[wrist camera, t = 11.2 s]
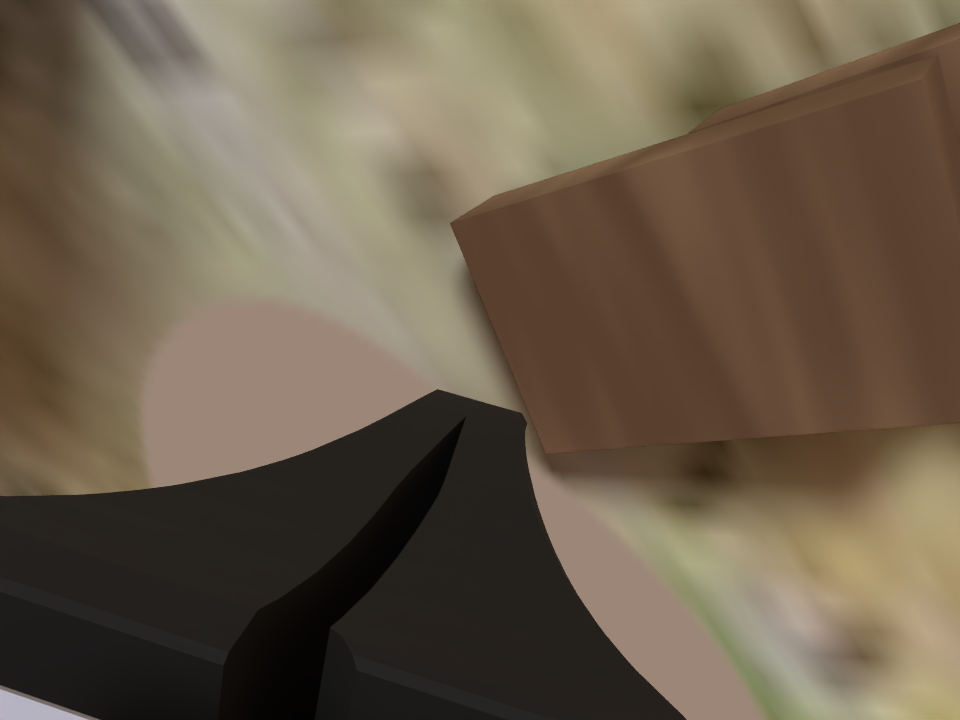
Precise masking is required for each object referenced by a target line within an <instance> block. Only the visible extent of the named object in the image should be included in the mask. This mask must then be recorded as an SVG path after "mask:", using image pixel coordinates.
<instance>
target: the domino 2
mask: <svg viewBox="0 0 960 720" xmlns="http://www.w3.org/2000/svg"><path fill="white" fill-rule="evenodd" d="M450 225H451V227H452V229H453V232H454V234H455V237H456V239H457V241H458V244H459V246H460V249H461V251H462V253H463V256H464V258H465V261H466V263H467V265H468V268H469V270H470V273H471V275H472V277H473V280H474V282H475V284H476V287H477V289H478V292H479V294H480V296H481V299H482V301H483V304H484V306H485V308H486V311H487V313H488V316H489V318H490V320H491V323H492V325H493V328H494V330H495V332H496V335H497V337H498V340H499V342H500V344H501V347H502V349H503V352H504V354H505V356H506V359H507V361H508V364H509V366H510V368H511V371H512V373H513V376H514V378H515V380H516V383H517V385H518V388H519V390H520V392H521V395H522V397H523V400H524V402H525V404H526V407H527V409H528V412H529V414H530V416H531V419H532V421H533V424H534V426H535V428H536V431H537V433H538V436H539V438H540V440H541V443H542V445H543V448H544V450H545V452H546V454H550V453H564V452H577V451H590V450H604V449H617V448H630V447H644V446H657V445H670V444H684V443H697V442H710V441H724V440H737V439H750V438H764V437H777V436H790V435H804V434H817V433H830V432H844V431H857V430H870V429H884V428H897V427H910V426H924V425H937V424H950V423H960V146H959V142H958V138H957V134H956V129H955V125H954V121H953V116H952V112H951V108H950V103H949V99H948V95H947V91H946V86H945V82H944V78H943V73H942V69H941V65H940V60H939V56H938V55H935V56H932V57H929V58H926V59H923V60H919V61H916V62H913V63H910V64H907V65H904V66H901V67H897V68H894V69H891V70H888V71H885V72H882V73H878V74H875V75H872V76H869V77H866V78H863V79H860V80H856V81H853V82H850V83H847V84H844V85H841V86H838V87H834V88H831V89H828V90H825V91H822V92H819V93H816V94H812V95H809V96H806V97H803V98H800V99H797V100H794V101H790V102H787V103H784V104H781V105H778V106H775V107H772V108H768V109H765V110H762V111H759V112H756V113H753V114H750V115H747V116H743V117H740V118H737V119H734V120H731V121H728V122H725V123H721V124H718V125H715V126H712V127H709V128H706V129H703V130H699V131H696V132H693V133H690V134H687V135H684V136H681V137H677V138H674V139H671V140H668V141H665V142H662V143H659V144H655V145H652V146H649V147H646V148H643V149H640V150H637V151H633V152H630V153H627V154H624V155H621V156H618V157H615V158H611V159H608V160H605V161H602V162H599V163H596V164H593V165H589V166H586V167H583V168H580V169H577V170H574V171H571V172H567V173H564V174H561V175H558V176H555V177H552V178H549V179H545V180H542V181H539V182H536V183H533V184H530V185H527V186H523V187H520V188H517V189H514V190H511V191H508V192H505V193H501V194H498V195H495V196H493V197H491V198H490V199H488V200H486V201H485V202H483V203H482V204H480V205H478V206H477V207H475V208H473V209H472V210H470V211H469V212H467V213H465V214H464V215H462V216H461V217H459V218H457V219H456V220H454V221H453V222H451V223H450Z"/></svg>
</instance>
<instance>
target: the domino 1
mask: <svg viewBox="0 0 960 720" xmlns="http://www.w3.org/2000/svg"><path fill="white" fill-rule="evenodd" d="M935 55H938V56H939V60H940V65H941V69H942V73H943V78H944V82H945V86H946V91H947V95H948V99H949V103H950V108H951V112H952V116H953V121H954V125H955V129H956V134H957V138H958V142H959V146H960V23H959V24H956V25H953V26H950V27H947V28H945V29H942V30H939V31H936V32H933V33H931V34H928V35H925V36H922V37H920V38H917V39H914V40H911V41H908V42H906V43H903V44H900V45H897V46H895V47H892V48H889V49H886V50H883V51H881V52H878V53H875V54H872V55H869V56H867V57H864V58H861V59H858V60H856V61H853V62H850V63H847V64H844V65H842V66H839V67H836V68H833V69H830V70H828V71H825V72H822V73H819V74H817V75H814V76H811V77H808V78H805V79H803V80H800V81H797V82H794V83H792V84H789V85H786V86H783V87H780V88H778V89H775V90H772V91H769V92H766V93H764V94H761V95H758V96H755V97H753V98H750V99H747V100H744V101H741V102H739V103H736V104H733V105H730V106H727V107H725V108H722V109H719V110H718V111H717V112H715V113H714V114H713V115H711V116H710V117H709V118H707V119H706V120H705V121H704V122H702V123H701V124H700V125H698V126H697V127H696V128H695V129H693V130H692V131H691V132H689V134H690V133H693V132H696V131H699V130H703V129H706V128H709V127H712V126H715V125H718V124H721V123H725V122H728V121H731V120H734V119H737V118H740V117H743V116H747V115H750V114H753V113H756V112H759V111H762V110H765V109H768V108H772V107H775V106H778V105H781V104H784V103H787V102H790V101H794V100H797V99H800V98H803V97H806V96H809V95H812V94H816V93H819V92H822V91H825V90H828V89H831V88H834V87H838V86H841V85H844V84H847V83H850V82H853V81H856V80H860V79H863V78H866V77H869V76H872V75H875V74H878V73H882V72H885V71H888V70H891V69H894V68H897V67H901V66H904V65H907V64H910V63H913V62H916V61H919V60H923V59H926V58H929V57H932V56H935Z"/></svg>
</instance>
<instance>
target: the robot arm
mask: <svg viewBox="0 0 960 720" xmlns="http://www.w3.org/2000/svg"><path fill="white" fill-rule="evenodd" d="M526 426H527V422H526V420H525V418H524V417H523V415H522V413H519V412H515V411H512V410H508V409H505V408H501V407H498V406H494V405H491V404H487V403H484V402H480V401H477V400H473V399H470V398H466V397H463V396H459V395H456V394H452V393H449V392H445V391H442V390H438V389H437V390H435V391H433V392H431V393H429V394H427V395H425V396H424V397H422V398H420V399H418V400H416V401H414V402H412V403H410V404H409V405H407V406H405V407H403V408H401V409H399V410H397V411H396V412H394V413H392V414H390V415H388V416H386V417H384V418H382V419H381V420H378V421H376V422H374V423H372V424H371V425H368V426H366V427H364V428H362V429H360V430H358V431H356V432H354V433H351V434H349V435H346V436H344V437H342V438H339V439H337V440H335V441H332V442H330V443H328V444H325V445H323V446H320V447H318V448H316V449H313V450H311V451H308V452H305V453H303V454H300V455H297V456H294V457H291V458H288V459H285V460H282V461H279V462H276V463H272V464H268V465H265V466H261V467H258V468H255V469H251V470H247V471H243V472H240V473H234V474H229V475H225V476H219V477H214V478H210V479H204V480H199V481H195V482H190V483H185V484H179V485H173V486H166V487H158V488H150V489H142V490H133V491H123V492H112V493H101V494H85V495H51V496H0V720H686V718H685V717H684V716H683V715H682V714H681V713H680V712H679V711H678V710H677V709H675V708H674V707H673V706H672V705H671V704H670V703H669V702H668V701H667V700H666V699H665V698H664V697H663V696H662V695H661V694H660V693H659V692H658V691H657V690H656V689H655V688H654V687H653V686H652V685H651V684H650V683H649V682H648V681H646V679H645V678H644V677H642V676H641V675H640V674H639V673H638V672H637V671H636V670H635V669H634V667H633V666H631V664H630V663H629V662H628V661H627V660H626V658H625V657H624V656H623V655H622V654H621V653H620V651H619V650H618V649H617V648H616V647H615V645H614V644H613V643H612V642H611V641H610V639H609V638H608V637H607V636H606V635H605V634H604V632H603V631H602V629H601V628H600V627H599V625H598V624H597V623H596V621H595V620H594V618H593V617H592V615H591V614H590V612H589V611H588V610H587V608H586V607H585V605H584V604H583V602H582V601H581V599H580V598H579V596H578V595H577V593H576V591H575V589H574V588H573V586H572V584H571V582H570V580H569V579H568V577H567V575H566V573H565V571H564V569H563V567H562V565H561V563H560V561H559V559H558V557H557V555H556V553H555V550H554V548H553V546H552V543H551V541H550V539H549V536H548V534H547V531H546V528H545V525H544V523H543V520H542V517H541V514H540V511H539V508H538V505H537V501H536V498H535V494H534V490H533V486H532V482H531V477H530V473H529V468H528V463H527V456H526V447H525V430H526Z"/></svg>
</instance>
